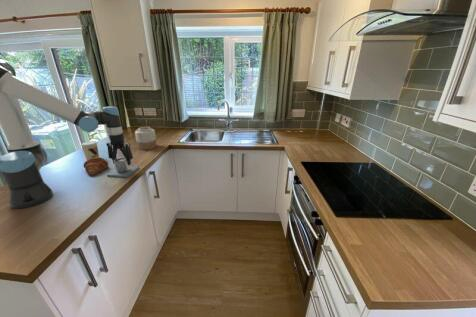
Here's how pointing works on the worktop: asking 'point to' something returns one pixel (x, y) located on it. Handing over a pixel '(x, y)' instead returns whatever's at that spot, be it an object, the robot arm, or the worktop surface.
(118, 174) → the shaft block
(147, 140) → the vase
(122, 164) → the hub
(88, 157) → the coffee cup
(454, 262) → the worktop surface
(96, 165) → the pastry
